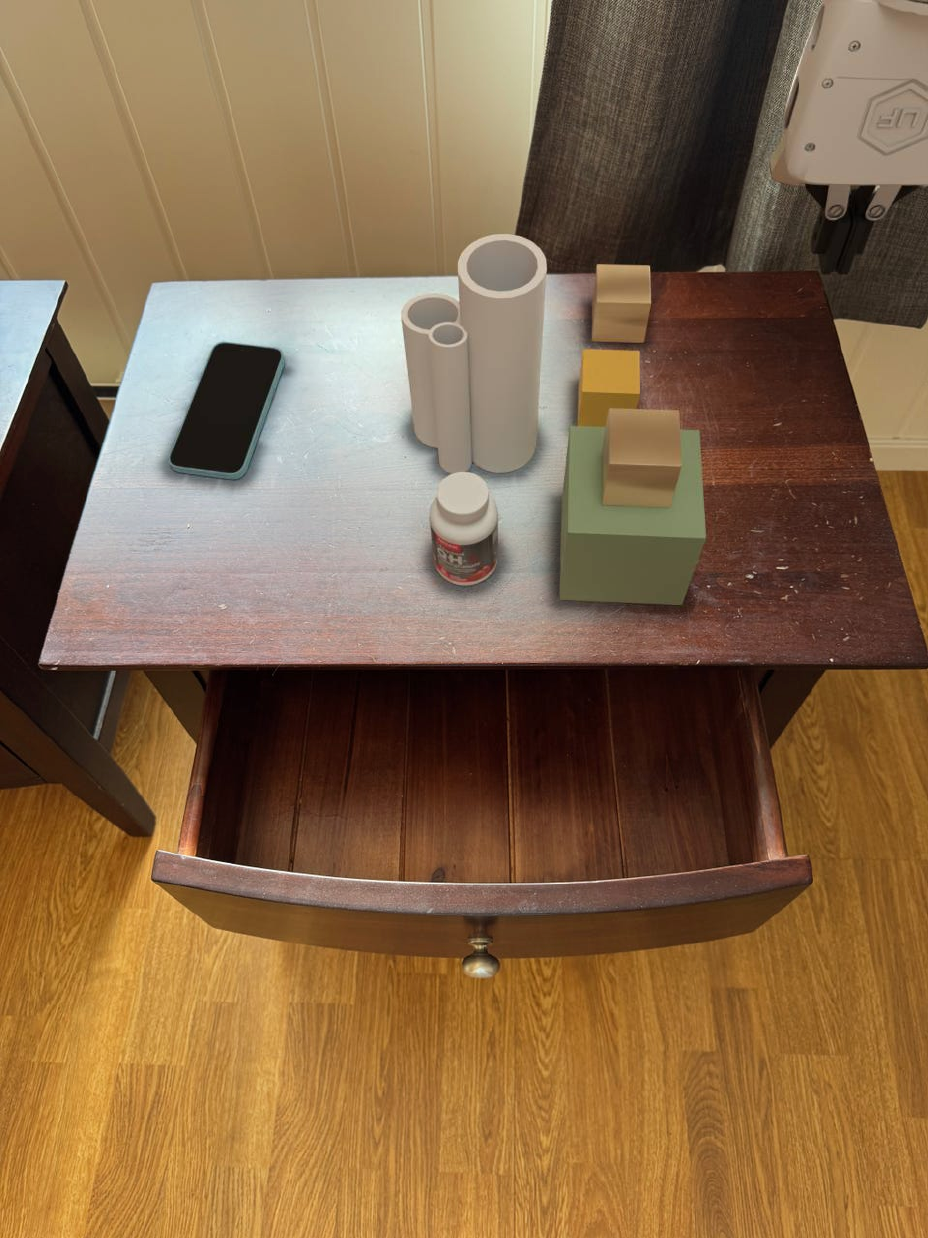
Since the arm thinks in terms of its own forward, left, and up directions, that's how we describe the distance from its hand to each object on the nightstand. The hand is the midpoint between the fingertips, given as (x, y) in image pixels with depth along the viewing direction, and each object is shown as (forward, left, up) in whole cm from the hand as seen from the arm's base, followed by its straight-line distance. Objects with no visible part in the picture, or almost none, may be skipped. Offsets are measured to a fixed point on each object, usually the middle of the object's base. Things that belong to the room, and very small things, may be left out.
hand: (831, 259), depth 61 cm
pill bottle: (+25, -4, -24) cm, 35 cm away
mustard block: (+7, -13, -24) cm, 28 cm away
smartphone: (+38, -28, -24) cm, 53 cm away
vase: (+19, -15, -24) cm, 34 cm away
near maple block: (+13, +1, -14) cm, 19 cm away
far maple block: (0, -22, -24) cm, 33 cm away
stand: (+13, +1, -24) cm, 28 cm away
